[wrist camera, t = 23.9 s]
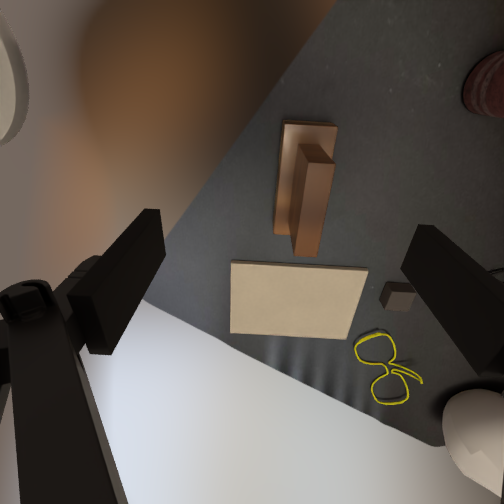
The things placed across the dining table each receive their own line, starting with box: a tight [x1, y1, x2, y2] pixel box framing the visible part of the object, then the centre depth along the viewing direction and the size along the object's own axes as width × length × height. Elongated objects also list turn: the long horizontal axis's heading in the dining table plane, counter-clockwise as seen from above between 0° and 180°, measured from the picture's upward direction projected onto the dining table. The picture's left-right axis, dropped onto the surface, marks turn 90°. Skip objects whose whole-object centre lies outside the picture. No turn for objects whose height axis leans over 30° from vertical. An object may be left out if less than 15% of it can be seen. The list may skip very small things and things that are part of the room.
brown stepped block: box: [273, 120, 338, 257], centre depth 32 cm, size 14×6×12 cm, turn 177°
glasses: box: [354, 332, 423, 405], centre depth 56 cm, size 25×10×5 cm, turn 25°
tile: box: [230, 260, 369, 339], centre depth 49 cm, size 22×16×1 cm
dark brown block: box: [380, 282, 417, 311], centre depth 46 cm, size 4×4×2 cm
